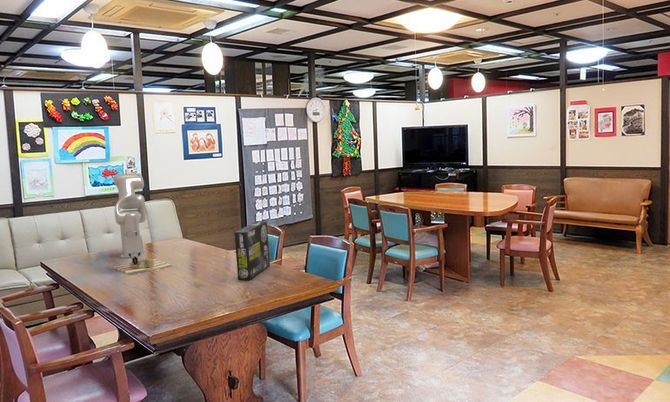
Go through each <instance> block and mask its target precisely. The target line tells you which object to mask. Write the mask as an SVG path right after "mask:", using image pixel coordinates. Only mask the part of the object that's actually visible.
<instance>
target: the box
mask: <svg viewBox="0 0 670 402" xmlns="http://www.w3.org/2000/svg"><path fill="white" fill-rule="evenodd" d="M268 233H269V232H268V222H267V221H255V222H253V223H251V224H248V225H246V226H244V227H242V228H241V229H238V230H236V231H234V233H233V234H234V244H235V257H236V258H235V259H236V268H237V271H236V273H237V280H238V281H251V280H253V279H254V278H255V277H256V276H258V275H259V274H260V273H262V272H263V271H265V269H267V268H268V267H270V264H271V263H270V262H271V261H270V249H269V247H270V245H269V234H268Z"/></svg>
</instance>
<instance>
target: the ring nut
mask: <svg viewBox="0 0 670 402" xmlns="http://www.w3.org/2000/svg"><path fill="white" fill-rule="evenodd" d="M140 260H145V264H143V263H140V265H134V263H133V262H132V261H130V263H129V264H130V267H131V268H143V267H148V268H152V267H154V261H153V258H149V257H148V258H143V259H142V258H141V259H140Z"/></svg>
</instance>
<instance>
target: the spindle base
mask: <svg viewBox="0 0 670 402" xmlns="http://www.w3.org/2000/svg"><path fill="white" fill-rule="evenodd" d="M152 259H153V258H152ZM153 261H154V267H152V268H148V267H143V268H131V267H130V263H125V264H120V265H114V266H112V268H113V269H114V270H116V271H119V272H120V273H123V274H125V275H127V276H131V275H136V274H141V273H146V272H151V271H157V270H162V269H168V268H172V266H173V265H172V264H171V263H168V262H164V261H161V260H158V259H156V258H154V259H153ZM140 263H143V264H145V259H144V260H141V259H140V260H138V263H137V264H135V265H140Z"/></svg>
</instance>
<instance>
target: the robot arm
mask: <svg viewBox="0 0 670 402" xmlns="http://www.w3.org/2000/svg"><path fill="white" fill-rule="evenodd" d="M112 180H113V183H114V185H115V187H116V188H117V191H118V192H117V193H118V201H117V202H116V204H115V206H114V219H115V223H116V224H117V225H119V226H120V235H121V237H120V238H121V247H122V250H121V251H122V254H121V255H120V258H121V259H131V260H132V261H131V262H133V263H134V265H135V264H137V263H138V261H139V259H138V258H139V256H141V255H144V253H145V251H144V244H143V243H144V242H143V238H142V235H141V234H140V224H142V223H145V221H146V219H147V214H146V202H145V197H144V195H143V194H137V193H136V191H135V190H143V189H144V187H145V181H144V178H143V175H142V174H141V173H121V174H120V173H119V174H115V175H114V176H113V177H112ZM120 210H121V211H120Z"/></svg>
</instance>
